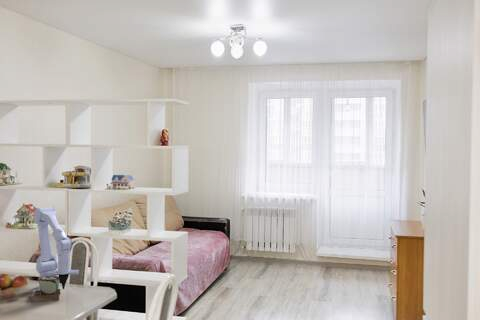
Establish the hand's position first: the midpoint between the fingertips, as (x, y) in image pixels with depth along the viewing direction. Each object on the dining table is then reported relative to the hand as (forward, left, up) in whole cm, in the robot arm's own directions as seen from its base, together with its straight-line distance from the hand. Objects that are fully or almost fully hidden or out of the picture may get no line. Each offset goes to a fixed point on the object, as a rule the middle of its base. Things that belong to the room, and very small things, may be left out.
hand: (63, 288), depth 244 cm
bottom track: (0, -8, -4) cm, 9 cm away
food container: (-2, -5, -4) cm, 7 cm away
